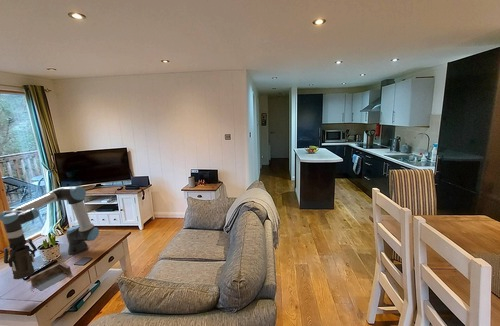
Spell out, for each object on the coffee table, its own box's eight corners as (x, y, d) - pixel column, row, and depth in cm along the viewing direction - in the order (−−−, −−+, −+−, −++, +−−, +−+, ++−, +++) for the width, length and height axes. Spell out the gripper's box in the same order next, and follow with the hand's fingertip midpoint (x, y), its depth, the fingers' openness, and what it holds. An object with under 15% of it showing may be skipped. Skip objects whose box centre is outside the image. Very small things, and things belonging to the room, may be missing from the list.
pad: (60, 272, 187) (60, 271, 187) (68, 276, 181) (68, 276, 181) (33, 285, 172) (33, 285, 172) (41, 290, 166) (41, 290, 166)
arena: (62, 268, 191) (61, 262, 190) (71, 273, 184) (69, 266, 183) (31, 284, 174) (29, 277, 172) (40, 290, 167) (38, 283, 166)
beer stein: (8, 279, 156) (3, 251, 153) (25, 269, 166) (22, 243, 163) (27, 282, 153) (23, 254, 150) (43, 272, 164) (40, 245, 161)
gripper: (33, 227, 165) (41, 255, 169) (-10, 243, 145) (-1, 274, 150) (39, 229, 161) (46, 258, 166) (-6, 245, 142) (4, 277, 147)
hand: (24, 265), depth 158 cm, fingers closed on beer stein, 9 cm apart
